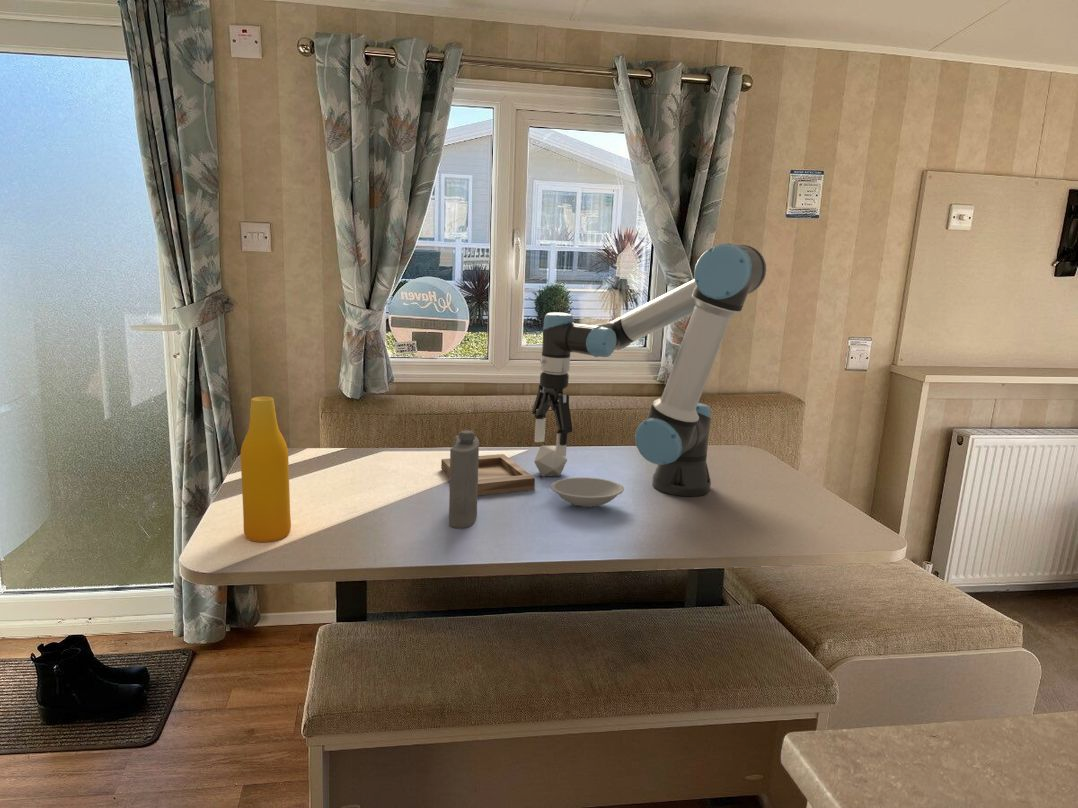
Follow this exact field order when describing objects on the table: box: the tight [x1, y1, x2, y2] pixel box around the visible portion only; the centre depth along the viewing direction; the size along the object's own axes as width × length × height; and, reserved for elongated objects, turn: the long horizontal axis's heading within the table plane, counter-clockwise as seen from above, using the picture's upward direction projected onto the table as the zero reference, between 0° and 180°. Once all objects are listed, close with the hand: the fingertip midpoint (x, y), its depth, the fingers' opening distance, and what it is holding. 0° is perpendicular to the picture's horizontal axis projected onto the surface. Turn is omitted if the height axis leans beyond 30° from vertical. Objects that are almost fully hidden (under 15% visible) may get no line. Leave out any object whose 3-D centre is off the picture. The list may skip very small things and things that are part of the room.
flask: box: [448, 429, 480, 529], centre depth 167 cm, size 15×6×20 cm, turn 1°
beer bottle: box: [239, 396, 292, 543], centre depth 151 cm, size 9×9×29 cm
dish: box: [550, 476, 625, 509], centre depth 178 cm, size 18×14×5 cm
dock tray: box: [440, 453, 536, 496], centre depth 195 cm, size 22×18×3 cm
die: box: [533, 445, 568, 477], centre depth 201 cm, size 8×9×10 cm
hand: (549, 448), depth 200 cm, fingers open, 13 cm apart
